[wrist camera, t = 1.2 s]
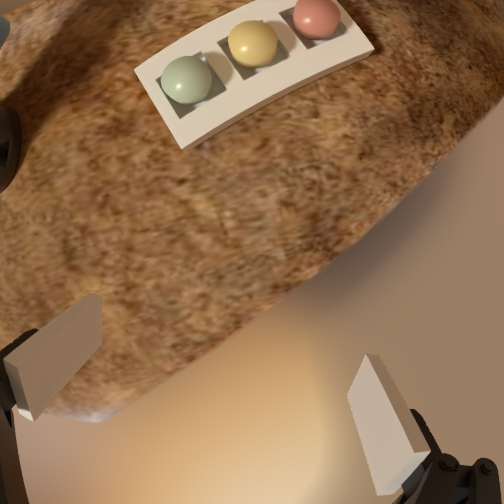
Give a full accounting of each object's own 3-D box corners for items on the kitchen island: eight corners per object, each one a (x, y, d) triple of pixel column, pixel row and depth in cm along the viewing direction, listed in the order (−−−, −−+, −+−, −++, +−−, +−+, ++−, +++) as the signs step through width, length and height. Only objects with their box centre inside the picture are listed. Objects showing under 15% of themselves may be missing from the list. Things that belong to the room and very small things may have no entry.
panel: (142, 76, 31) (133, 69, 28) (313, -10, 27) (316, -22, 25) (188, 151, 34) (181, 149, 31) (367, 57, 30) (374, 48, 27)
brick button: (283, 16, 27) (285, 3, 24) (319, 2, 26) (323, -10, 23) (308, 46, 28) (311, 35, 25) (343, 32, 27) (349, 21, 24)
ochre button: (223, 44, 28) (219, 33, 25) (261, 25, 27) (261, 13, 24) (245, 76, 29) (244, 67, 26) (285, 56, 28) (287, 46, 25)
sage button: (162, 81, 29) (153, 73, 26) (199, 57, 28) (194, 47, 26) (182, 114, 30) (174, 108, 27) (221, 89, 29) (217, 81, 26)
